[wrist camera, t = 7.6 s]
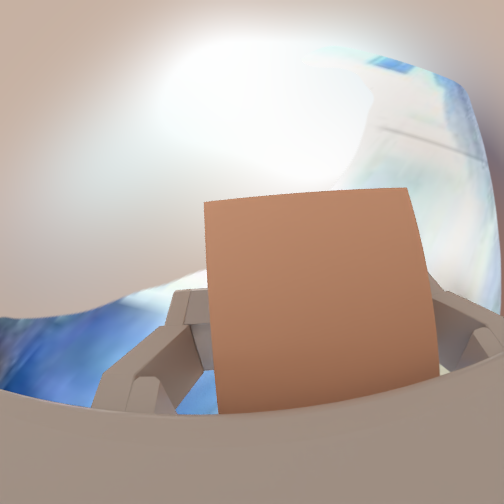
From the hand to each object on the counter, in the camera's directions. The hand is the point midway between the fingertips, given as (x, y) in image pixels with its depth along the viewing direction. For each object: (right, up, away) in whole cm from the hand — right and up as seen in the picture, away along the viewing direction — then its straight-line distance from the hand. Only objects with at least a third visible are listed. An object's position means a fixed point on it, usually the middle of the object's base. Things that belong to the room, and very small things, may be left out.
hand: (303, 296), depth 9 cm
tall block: (0, -2, +4) cm, 5 cm away
